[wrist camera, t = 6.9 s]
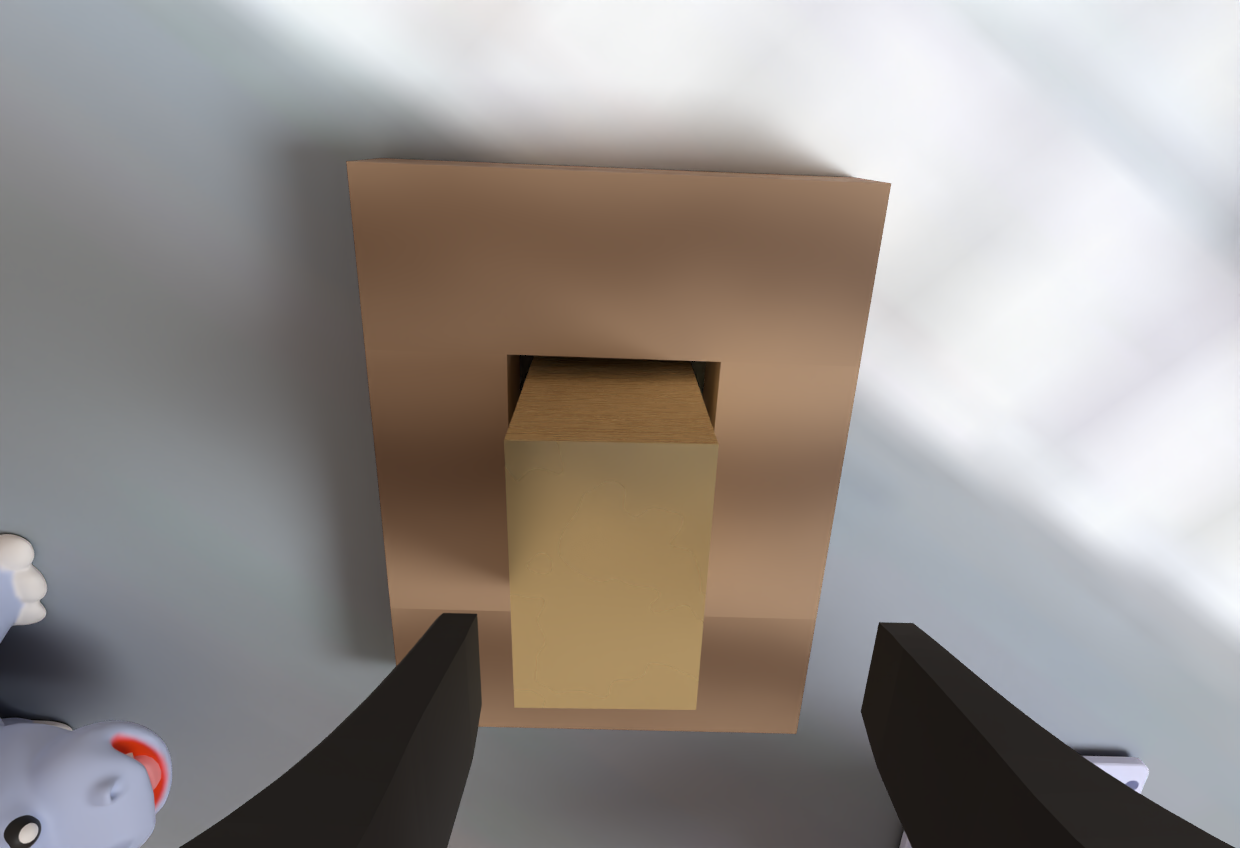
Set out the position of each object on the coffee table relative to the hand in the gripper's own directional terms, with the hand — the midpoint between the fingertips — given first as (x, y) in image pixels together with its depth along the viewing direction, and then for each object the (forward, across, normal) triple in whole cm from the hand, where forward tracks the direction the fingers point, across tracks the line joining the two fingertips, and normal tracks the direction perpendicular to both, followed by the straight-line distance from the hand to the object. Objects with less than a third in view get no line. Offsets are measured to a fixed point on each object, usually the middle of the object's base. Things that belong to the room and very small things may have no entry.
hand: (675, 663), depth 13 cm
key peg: (+9, +1, 0) cm, 9 cm away
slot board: (+9, +1, 0) cm, 9 cm away
